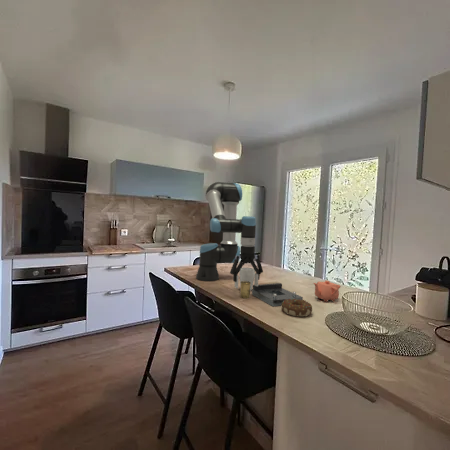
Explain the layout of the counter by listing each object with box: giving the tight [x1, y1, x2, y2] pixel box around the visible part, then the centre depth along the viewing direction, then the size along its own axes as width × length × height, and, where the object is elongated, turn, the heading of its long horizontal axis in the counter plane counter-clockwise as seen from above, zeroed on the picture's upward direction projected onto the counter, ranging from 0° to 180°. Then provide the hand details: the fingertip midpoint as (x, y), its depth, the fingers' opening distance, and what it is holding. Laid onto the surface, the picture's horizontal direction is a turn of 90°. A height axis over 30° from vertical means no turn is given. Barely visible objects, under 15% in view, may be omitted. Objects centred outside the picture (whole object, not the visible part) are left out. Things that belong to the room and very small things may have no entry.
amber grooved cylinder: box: [239, 281, 251, 300], centre depth 141 cm, size 5×5×8 cm
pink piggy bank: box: [312, 280, 341, 303], centre depth 143 cm, size 14×12×10 cm
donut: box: [281, 299, 313, 317], centre depth 122 cm, size 14×14×5 cm
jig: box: [251, 282, 304, 308], centre depth 141 cm, size 20×18×5 cm
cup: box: [238, 267, 256, 292], centre depth 156 cm, size 9×9×12 cm
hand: (246, 286), depth 141 cm, fingers open, 11 cm apart
